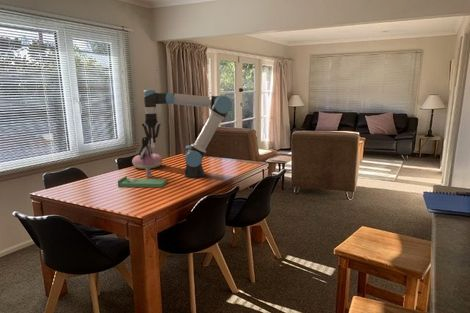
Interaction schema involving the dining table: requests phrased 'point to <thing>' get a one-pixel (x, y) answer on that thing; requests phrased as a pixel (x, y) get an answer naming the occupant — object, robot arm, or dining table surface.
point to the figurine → (146, 155)
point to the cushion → (138, 163)
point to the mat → (141, 182)
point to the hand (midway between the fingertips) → (152, 147)
